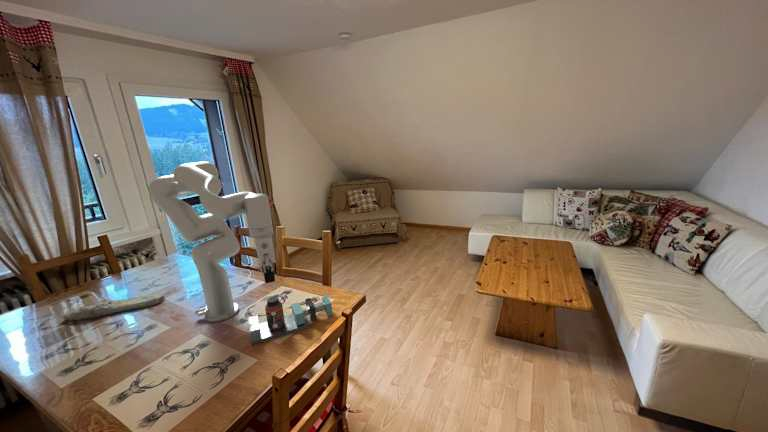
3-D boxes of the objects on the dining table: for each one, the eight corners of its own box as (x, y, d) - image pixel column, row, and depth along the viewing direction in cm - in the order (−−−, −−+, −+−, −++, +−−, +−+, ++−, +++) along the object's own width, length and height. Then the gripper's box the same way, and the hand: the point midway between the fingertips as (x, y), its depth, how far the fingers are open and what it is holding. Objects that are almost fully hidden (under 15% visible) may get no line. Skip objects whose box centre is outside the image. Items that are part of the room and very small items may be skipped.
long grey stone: (161, 309, 131) (168, 299, 140) (159, 298, 130) (166, 288, 139) (57, 325, 119) (72, 313, 128) (54, 314, 118) (69, 302, 127)
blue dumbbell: (296, 326, 110) (295, 314, 109) (292, 315, 117) (291, 304, 116) (333, 315, 116) (331, 304, 115) (327, 305, 123) (326, 294, 122)
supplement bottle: (279, 331, 108) (275, 304, 105) (265, 330, 109) (260, 303, 106) (288, 321, 114) (284, 295, 110) (273, 320, 115) (269, 294, 112)
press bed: (252, 345, 103) (249, 328, 101) (250, 329, 112) (247, 313, 110) (317, 325, 113) (315, 309, 111) (311, 311, 122) (309, 296, 120)
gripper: (276, 235, 95) (283, 284, 99) (269, 222, 110) (276, 265, 114) (250, 240, 91) (259, 290, 96) (247, 225, 107) (255, 269, 111)
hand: (268, 276), depth 105 cm, fingers open, 8 cm apart
